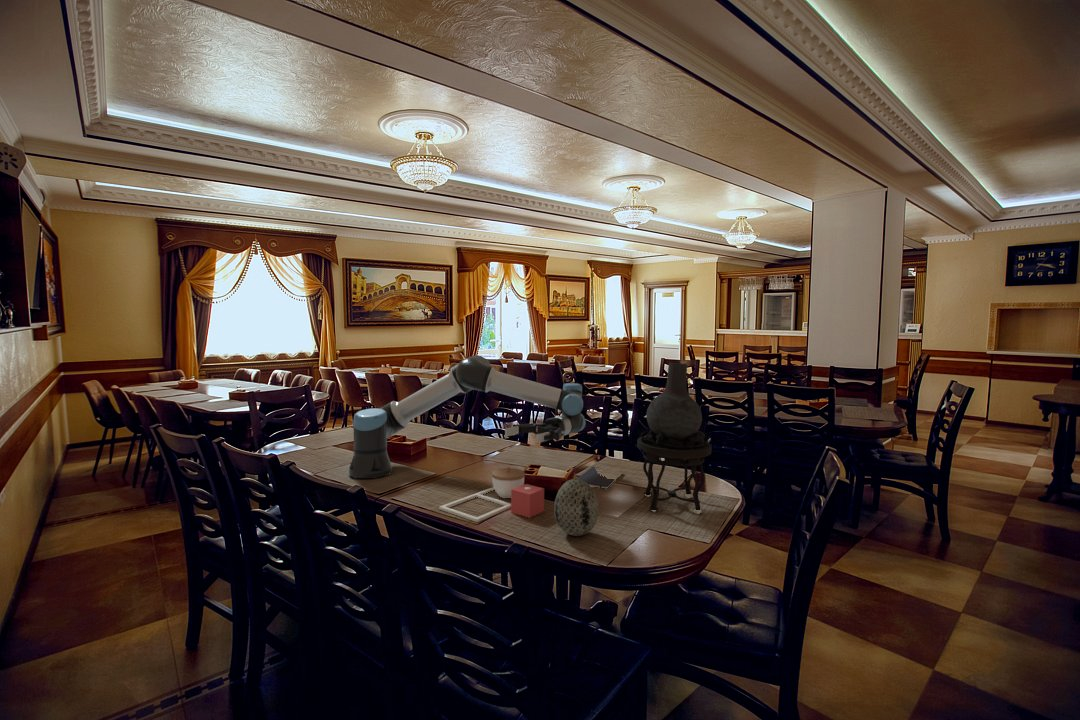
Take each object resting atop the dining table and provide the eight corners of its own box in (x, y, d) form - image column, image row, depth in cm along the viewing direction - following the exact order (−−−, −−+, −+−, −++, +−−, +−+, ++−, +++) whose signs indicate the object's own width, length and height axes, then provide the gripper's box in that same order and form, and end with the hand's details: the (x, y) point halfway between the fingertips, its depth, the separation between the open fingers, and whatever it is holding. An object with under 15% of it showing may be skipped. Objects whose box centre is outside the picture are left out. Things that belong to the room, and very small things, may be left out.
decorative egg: (565, 546, 125) (567, 488, 124) (546, 529, 136) (547, 475, 135) (605, 539, 130) (607, 483, 129) (584, 523, 141) (585, 471, 140)
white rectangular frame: (505, 484, 174) (505, 482, 174) (541, 494, 165) (541, 492, 165) (439, 509, 150) (439, 506, 150) (477, 522, 140) (477, 519, 140)
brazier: (630, 511, 151) (634, 363, 148) (641, 489, 172) (645, 359, 169) (708, 522, 143) (714, 366, 140) (709, 497, 164) (715, 362, 161)
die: (525, 506, 154) (526, 483, 153) (543, 511, 149) (544, 487, 149) (511, 512, 148) (511, 488, 148) (529, 518, 144) (529, 493, 143)
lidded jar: (523, 501, 158) (524, 472, 157) (490, 500, 158) (490, 471, 157) (525, 490, 168) (525, 463, 168) (493, 489, 168) (493, 462, 168)
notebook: (592, 470, 195) (572, 485, 176) (592, 466, 195) (572, 481, 176) (623, 475, 190) (607, 491, 171) (623, 471, 190) (607, 486, 170)
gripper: (584, 442, 178) (550, 453, 161) (530, 431, 193) (493, 440, 176) (585, 421, 178) (551, 430, 161) (530, 412, 193) (494, 419, 176)
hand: (521, 435), depth 169 cm, fingers open, 13 cm apart
